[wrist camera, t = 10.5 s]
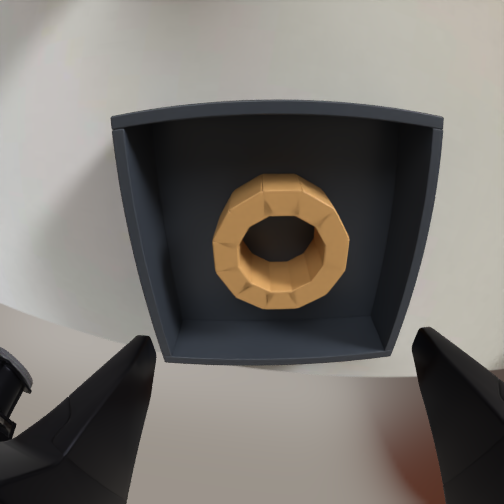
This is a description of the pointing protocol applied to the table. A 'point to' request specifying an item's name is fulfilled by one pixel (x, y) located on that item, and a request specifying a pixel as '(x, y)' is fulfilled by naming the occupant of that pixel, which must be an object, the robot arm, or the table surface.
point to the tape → (287, 272)
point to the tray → (277, 222)
